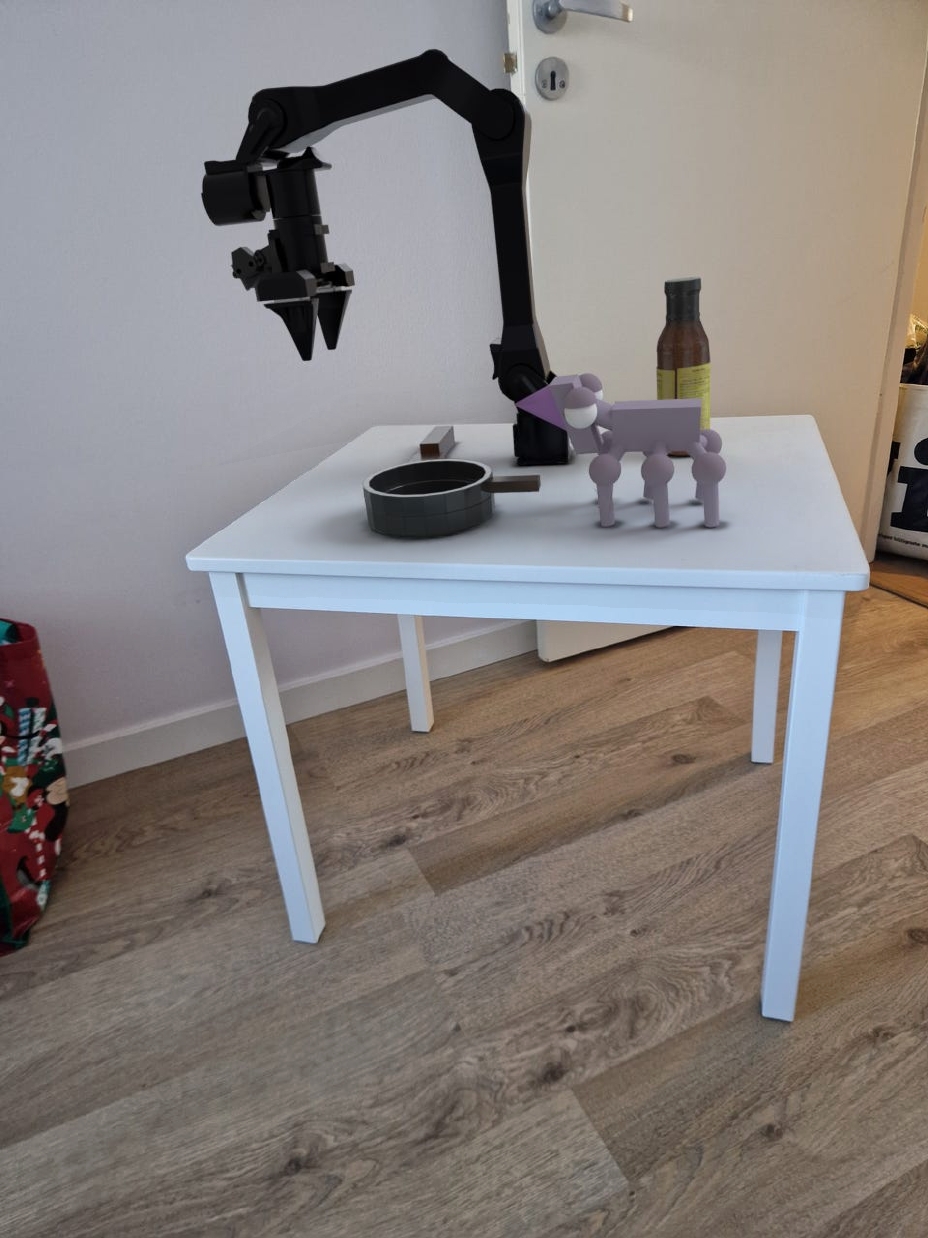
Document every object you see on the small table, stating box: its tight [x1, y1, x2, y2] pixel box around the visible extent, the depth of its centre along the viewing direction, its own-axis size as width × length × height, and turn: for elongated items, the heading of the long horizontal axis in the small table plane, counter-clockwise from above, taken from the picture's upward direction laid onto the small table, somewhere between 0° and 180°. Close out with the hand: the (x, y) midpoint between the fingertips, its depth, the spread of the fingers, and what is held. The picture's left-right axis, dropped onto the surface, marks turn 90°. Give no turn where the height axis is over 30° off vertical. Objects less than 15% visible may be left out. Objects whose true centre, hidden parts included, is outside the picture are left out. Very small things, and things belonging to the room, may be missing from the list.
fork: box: [406, 425, 456, 463], centre depth 104 cm, size 17×4×3 cm, turn 170°
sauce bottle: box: [655, 276, 711, 457], centre depth 93 cm, size 6×6×20 cm
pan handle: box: [490, 474, 542, 494], centre depth 80 cm, size 5×2×1 cm, turn 80°
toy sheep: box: [513, 372, 727, 528], centre depth 76 cm, size 20×11×14 cm, turn 74°
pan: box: [362, 458, 496, 539], centre depth 82 cm, size 13×13×4 cm
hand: (320, 354), depth 99 cm, fingers open, 9 cm apart
